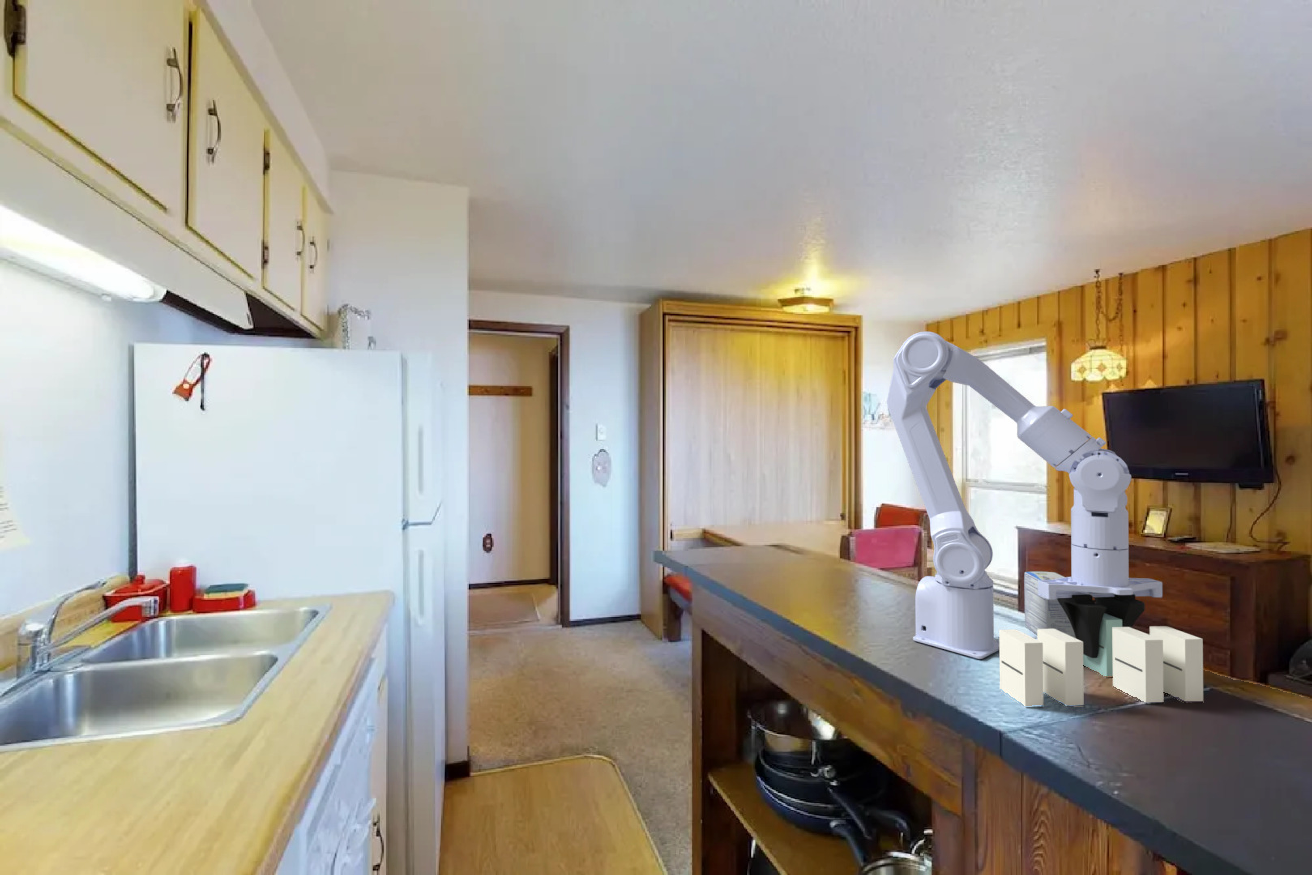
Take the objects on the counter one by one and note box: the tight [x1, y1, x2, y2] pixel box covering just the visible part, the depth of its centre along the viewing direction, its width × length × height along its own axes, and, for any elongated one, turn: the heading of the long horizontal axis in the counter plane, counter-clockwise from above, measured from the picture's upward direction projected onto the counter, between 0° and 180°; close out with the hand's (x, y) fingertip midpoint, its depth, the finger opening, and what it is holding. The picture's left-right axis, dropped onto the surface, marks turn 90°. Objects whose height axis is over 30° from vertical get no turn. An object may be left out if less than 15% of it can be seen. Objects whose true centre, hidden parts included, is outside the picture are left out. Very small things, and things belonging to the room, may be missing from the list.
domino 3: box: [1083, 613, 1122, 677], centre depth 73 cm, size 2×4×7 cm, turn 2°
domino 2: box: [1036, 629, 1085, 706], centre depth 66 cm, size 2×4×7 cm, turn 2°
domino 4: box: [1112, 627, 1165, 703], centre depth 66 cm, size 2×4×7 cm, turn 2°
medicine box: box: [1023, 571, 1076, 638], centre depth 86 cm, size 8×4×9 cm, turn 168°
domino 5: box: [1149, 625, 1204, 702], centre depth 66 cm, size 2×4×7 cm, turn 2°
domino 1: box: [998, 629, 1044, 706], centre depth 66 cm, size 2×4×7 cm, turn 2°
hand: (1100, 654), depth 73 cm, fingers open, 2 cm apart
